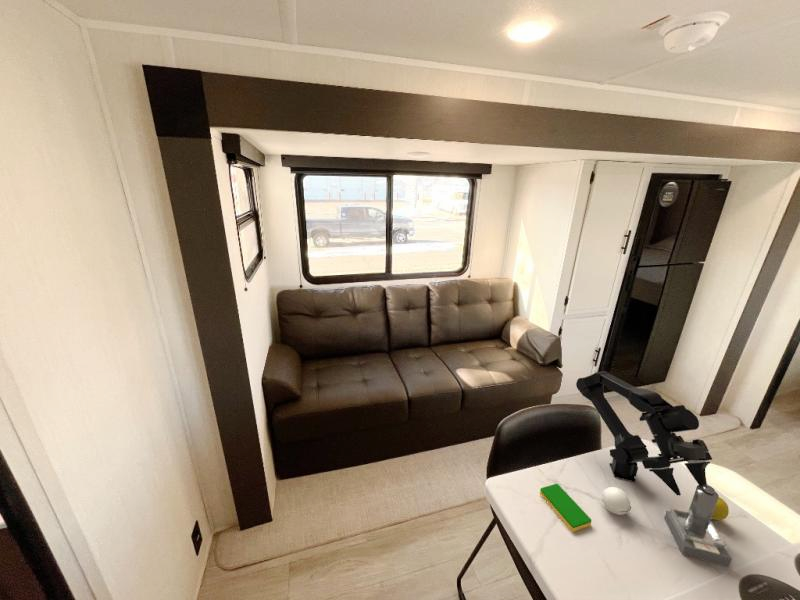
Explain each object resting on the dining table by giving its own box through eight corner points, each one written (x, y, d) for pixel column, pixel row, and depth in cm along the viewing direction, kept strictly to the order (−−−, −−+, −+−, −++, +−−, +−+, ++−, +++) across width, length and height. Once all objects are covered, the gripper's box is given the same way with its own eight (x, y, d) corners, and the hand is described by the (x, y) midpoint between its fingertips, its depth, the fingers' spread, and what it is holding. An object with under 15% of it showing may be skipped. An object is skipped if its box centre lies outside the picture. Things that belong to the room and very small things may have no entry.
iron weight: (686, 530, 89) (699, 490, 85) (683, 518, 92) (696, 479, 88) (707, 539, 86) (722, 498, 82) (703, 526, 90) (717, 486, 86)
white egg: (613, 523, 94) (618, 504, 92) (594, 501, 101) (598, 483, 99) (641, 517, 96) (646, 498, 94) (620, 496, 103) (625, 478, 101)
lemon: (729, 528, 93) (737, 507, 91) (707, 524, 94) (714, 503, 92) (715, 511, 98) (722, 491, 96) (694, 508, 99) (701, 488, 97)
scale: (682, 554, 86) (686, 541, 85) (664, 518, 96) (667, 506, 95) (728, 567, 83) (733, 553, 81) (704, 528, 93) (709, 515, 92)
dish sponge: (556, 488, 107) (557, 483, 106) (591, 526, 94) (592, 520, 93) (538, 494, 105) (539, 488, 104) (571, 533, 92) (573, 527, 91)
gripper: (660, 434, 88) (692, 499, 81) (714, 426, 92) (749, 488, 84) (630, 438, 98) (655, 497, 91) (679, 431, 101) (708, 487, 94)
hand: (692, 492), depth 90 cm, fingers open, 9 cm apart
